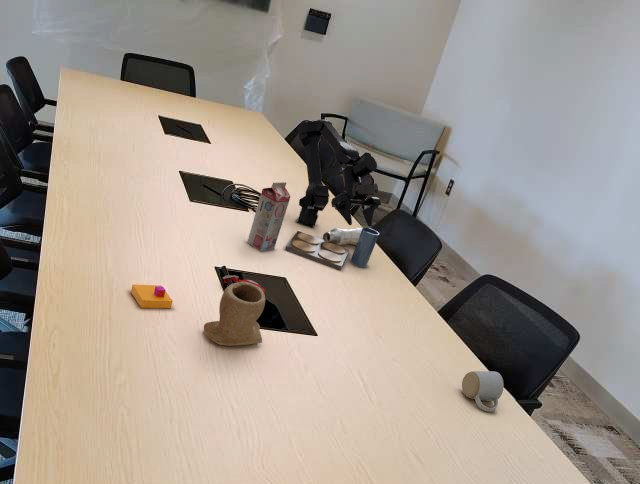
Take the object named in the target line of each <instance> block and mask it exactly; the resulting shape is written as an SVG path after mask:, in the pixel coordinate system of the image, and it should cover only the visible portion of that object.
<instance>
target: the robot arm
mask: <svg viewBox="0 0 640 484" xmlns="http://www.w3.org/2000/svg"><path fill="white" fill-rule="evenodd" d="M297 134H298V138H299V141H300V143H301V144H302V146H303V147H304V152H305V163H306V172H307V179H308V185H307V187H306V190H305V195H304V196H302V197H301V198H300V199H299V200H298V206H300V207H301V209H300V212H299V215H298V217H297V220H296V223H297V224H300V225H302V226H305V227H308V228H311V229H312V228H313V227H314V226H316V225H317V222H318V219H319V215H320V214H319V212H323V211H324V210H325V208H326V207H327V206H328V205H329V201H330V198H329V197H330V192H329V186H328V185H325V184H324V183H323V179H322V171H321V161H320V154H319V143H320V141H321V140H322V137H323V138H324V139H325V140H326V141H327V144H329V146H330V147H331V148H332V150H333V156H334V159H335V162H336V163H337V164H338V165H340V166H346V167H341V168H340V170H339V171H338V174H337V176H338V177H342V179H343V185H344V187H343V188H342V192H345V193H339V194H338V195H335V196H334V197H332V198H331V202H330V204H331V208H334V210H335V211H337V212H338V213H339V214H340V215H341V217H342V218H343V219H344V221H345V222H346V223H347V224H348V226H352V225H353V219H352V212H351V206H352V205H353V206H361V209H362V210H361V213H362V215H363V217H364V220H365V223H366V225H367V226H368V227H367V228H370V227H372V226H373V225H372V224H373V218H374V213H375V210H376V209H377V208H379V206H381V205H382V203H381V199H380V198H379V197H376V196H375V195H376V194H378V193H379V187H378V183H370V184H365V183H364V182H362V180H361V178H365V177H366V176H368V175H370V174H371V173H373V172H374V171H376V170H377V168H378V163H377V160H376V159H375V158H374V157H373V156H372V154H371V152H369V151H365V152H364V153H363V154H362V155H360V152H359V151H358V150H357V149H356V148H355V147H354V146H352V145H351V144H349V143H347V142H346V141H345V139H343V137H342V136H341V134H340V133H339V132H338V131H337V129H336V128H335V126H334V125H333V123H332V121H330V120H326V119H318V120H317V119H316V120H311V121H306V120H303V121H301V123H300V124H299V125H298V127H297ZM368 196H370V197H368Z"/></svg>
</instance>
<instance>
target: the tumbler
mask: <svg viewBox="0 0 640 484" xmlns="http://www.w3.org/2000/svg"><path fill="white" fill-rule="evenodd" d="M361 229H362V231H361V234H360V236H359V239H358V242H357V244H356V245H355V247H354V250H353V253H352V255H351V258H350V261H349V262H350V264H351V265H353V266H355V267H357V268H361V269H365V268H367V266H368V264H369V261H370V258H371V256H372V254H373V251H374V249H375V246H376V243H377V241H378V239H379V235H380V232H378V231H377V230H375V229H373V228H370V227H362V228H361Z"/></svg>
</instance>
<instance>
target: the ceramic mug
mask: <svg viewBox="0 0 640 484" xmlns="http://www.w3.org/2000/svg"><path fill="white" fill-rule="evenodd" d="M504 385H505V384H504V379H503V377H502V375H501V374H500V372H498V371H495V370H493V371H491V370H490V371H489V370H474V371H469V372H467V373H465V375H464V376H463V378H462V381H461V390H462V393H463V395H464V396H465V397H466V398H469V399H471V400H475V403H476V405H477V406H478V408H479V409H481V410H483V411H484V412H489V413H490V412H491V413H492V412H493V411H494V410H496V409H497V407H498V406H499V399H500V398H501V397H502V395H503V393H504V387H505V386H504ZM482 401H487V402H493V407H488V406H486V405H484V404H483V402H482Z"/></svg>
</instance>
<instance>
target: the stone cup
mask: <svg viewBox="0 0 640 484" xmlns="http://www.w3.org/2000/svg"><path fill="white" fill-rule="evenodd" d="M265 305H266V295H265V293H264V292H263V291H262V290H261V289H260V288H259V287H258V286H256V285H254V284H251V283H248V282H238V283H236V282H234V283H231V284H230V285H229V286H227V287H225V289H224V291H223V293H222V296H221V298H220V301H219V312H218V313H219V320H215V321H208V322H206V323H204V324H203V331H204V333H205V335H206V337H208V339H209V340H210V341H212V342H214V343H215V344H217V345H220V346H245V345H255V344H262V343H263V337H262V333H261V326H260V324H259V323H258V322H257V320H258V319H259V318H260V317H261V315H262V314H263V312H264V309H265Z"/></svg>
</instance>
